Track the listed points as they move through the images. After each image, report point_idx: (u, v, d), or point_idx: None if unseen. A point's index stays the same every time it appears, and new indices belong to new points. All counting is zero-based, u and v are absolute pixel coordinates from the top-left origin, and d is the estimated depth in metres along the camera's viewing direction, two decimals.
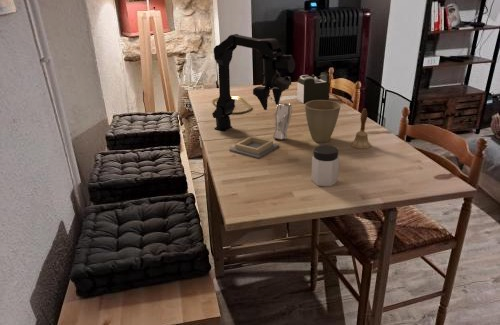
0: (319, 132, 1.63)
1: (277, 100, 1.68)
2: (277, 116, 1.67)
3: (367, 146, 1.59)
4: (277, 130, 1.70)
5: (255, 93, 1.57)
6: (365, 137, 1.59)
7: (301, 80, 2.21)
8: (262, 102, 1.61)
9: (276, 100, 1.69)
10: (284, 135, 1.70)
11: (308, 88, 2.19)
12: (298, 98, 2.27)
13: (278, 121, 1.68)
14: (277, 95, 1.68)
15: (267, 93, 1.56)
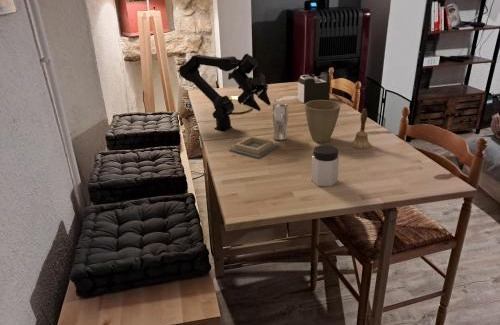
0: (319, 132, 1.63)
1: (267, 101, 1.74)
2: (274, 118, 1.67)
3: (367, 146, 1.59)
4: (276, 131, 1.70)
5: (241, 100, 1.65)
6: (365, 137, 1.59)
7: (301, 80, 2.21)
8: (252, 105, 1.67)
9: (266, 102, 1.75)
10: (284, 135, 1.70)
11: (308, 88, 2.19)
12: (298, 98, 2.28)
13: (276, 123, 1.68)
14: (264, 97, 1.75)
15: (249, 93, 1.64)
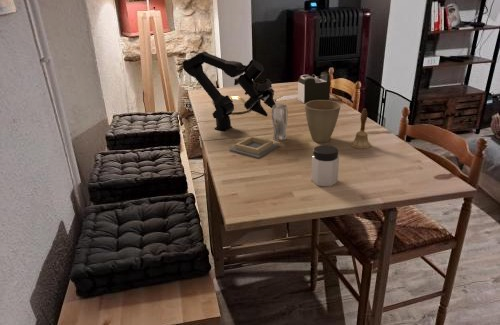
0: (319, 132, 1.63)
1: None
2: (274, 119, 1.67)
3: (367, 146, 1.59)
4: (276, 132, 1.70)
5: (247, 106, 1.64)
6: (365, 137, 1.59)
7: (302, 80, 2.21)
8: (259, 111, 1.66)
9: None
10: (283, 136, 1.70)
11: (309, 88, 2.20)
12: (299, 98, 2.28)
13: (275, 124, 1.67)
14: (271, 102, 1.74)
15: (256, 98, 1.63)
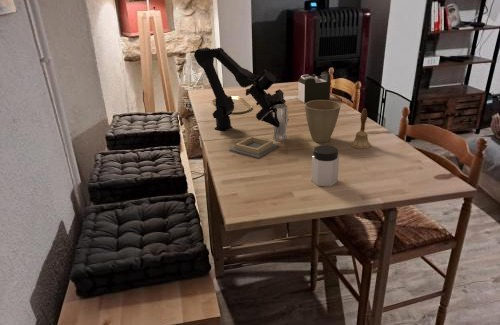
0: (319, 132, 1.63)
1: None
2: None
3: (367, 146, 1.59)
4: (276, 132, 1.70)
5: (259, 117, 1.63)
6: (365, 137, 1.59)
7: (302, 80, 2.21)
8: (271, 122, 1.65)
9: None
10: (284, 136, 1.70)
11: (309, 88, 2.20)
12: (299, 98, 2.28)
13: None
14: None
15: (268, 109, 1.62)
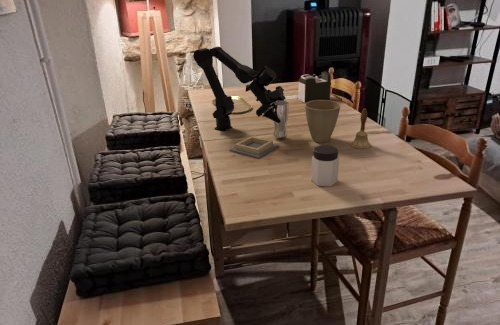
0: (319, 132, 1.63)
1: None
2: None
3: (367, 146, 1.59)
4: (276, 129, 1.69)
5: (259, 113, 1.63)
6: (365, 137, 1.59)
7: (302, 79, 2.22)
8: (272, 118, 1.66)
9: None
10: (284, 133, 1.70)
11: (309, 88, 2.20)
12: (299, 97, 2.29)
13: None
14: None
15: (268, 106, 1.61)
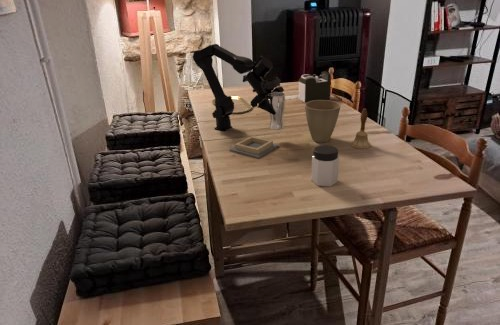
0: (319, 132, 1.63)
1: None
2: None
3: (367, 146, 1.59)
4: (272, 121, 1.65)
5: (253, 104, 1.59)
6: (365, 137, 1.59)
7: (302, 79, 2.22)
8: (267, 109, 1.62)
9: None
10: (280, 125, 1.65)
11: (309, 87, 2.21)
12: (299, 97, 2.29)
13: None
14: None
15: (262, 97, 1.58)
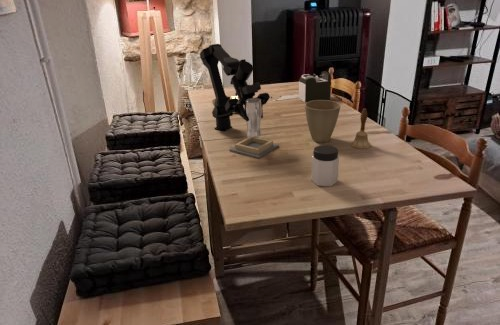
0: (319, 132, 1.63)
1: None
2: None
3: (367, 146, 1.59)
4: (247, 127, 1.59)
5: (226, 108, 1.56)
6: (365, 137, 1.59)
7: (303, 79, 2.22)
8: (241, 115, 1.56)
9: None
10: (254, 133, 1.58)
11: (310, 87, 2.21)
12: (299, 97, 2.29)
13: None
14: None
15: (234, 101, 1.53)
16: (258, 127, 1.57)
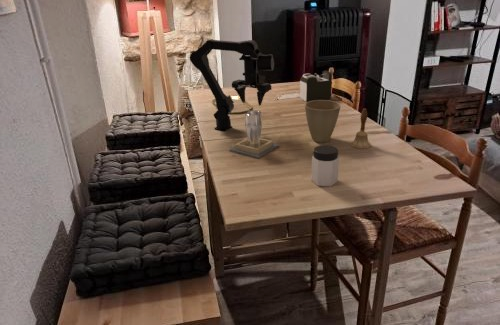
0: (319, 132, 1.63)
1: (244, 98, 1.80)
2: (245, 125, 1.58)
3: (367, 146, 1.59)
4: (248, 139, 1.61)
5: (266, 90, 1.69)
6: (365, 137, 1.59)
7: (304, 78, 2.24)
8: (261, 98, 1.73)
9: (243, 98, 1.80)
10: (254, 145, 1.60)
11: (311, 86, 2.22)
12: (301, 96, 2.31)
13: (247, 131, 1.59)
14: (243, 93, 1.80)
15: None
16: (258, 139, 1.60)
